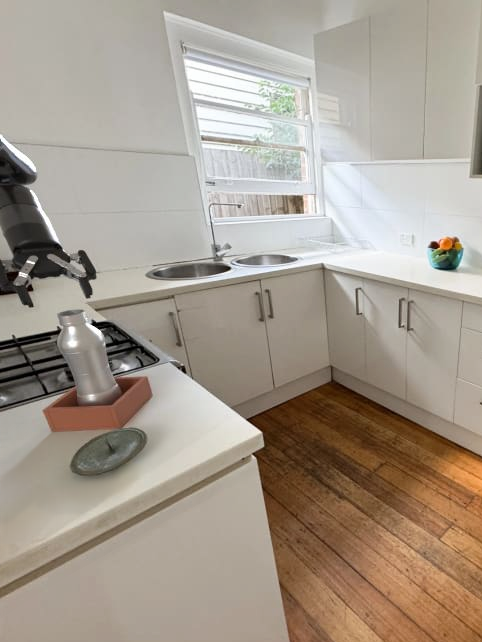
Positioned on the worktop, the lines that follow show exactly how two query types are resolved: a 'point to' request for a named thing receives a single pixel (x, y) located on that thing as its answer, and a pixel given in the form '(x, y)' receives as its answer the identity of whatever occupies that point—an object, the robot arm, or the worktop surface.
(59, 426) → the caddy
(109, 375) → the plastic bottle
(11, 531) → the worktop surface
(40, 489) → the worktop surface
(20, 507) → the worktop surface
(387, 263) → the worktop surface
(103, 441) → the lid
